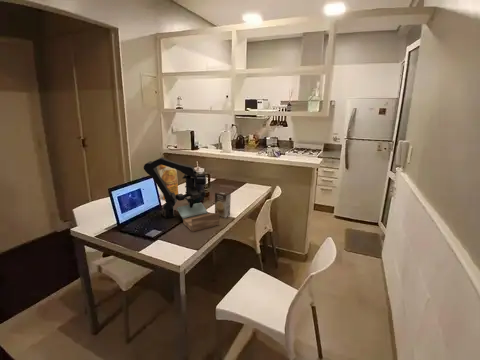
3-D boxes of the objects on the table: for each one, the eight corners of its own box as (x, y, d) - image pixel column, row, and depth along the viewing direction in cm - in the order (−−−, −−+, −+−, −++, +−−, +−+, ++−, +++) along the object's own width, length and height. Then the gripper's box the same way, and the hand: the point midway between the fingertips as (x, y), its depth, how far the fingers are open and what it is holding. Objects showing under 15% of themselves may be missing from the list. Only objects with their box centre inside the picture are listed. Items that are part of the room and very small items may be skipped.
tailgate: (182, 220, 171) (176, 209, 177) (207, 214, 180) (200, 204, 187) (182, 217, 169) (176, 207, 176) (207, 212, 179) (201, 202, 185)
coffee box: (214, 215, 184) (214, 192, 180) (219, 212, 189) (219, 190, 185) (225, 218, 179) (225, 195, 175) (230, 214, 185) (231, 192, 180)
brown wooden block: (183, 223, 170) (182, 211, 168) (208, 217, 180) (208, 206, 178) (192, 231, 159) (192, 219, 157) (219, 224, 169) (219, 213, 167)
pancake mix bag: (157, 199, 211) (155, 164, 203) (175, 193, 226) (174, 160, 218) (163, 201, 207) (161, 165, 200) (181, 194, 223) (180, 161, 215)
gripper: (181, 190, 163) (182, 214, 167) (209, 185, 174) (209, 208, 178) (174, 185, 172) (176, 208, 176) (201, 181, 182) (201, 203, 186)
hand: (191, 207), depth 179 cm, fingers closed, pressing on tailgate
